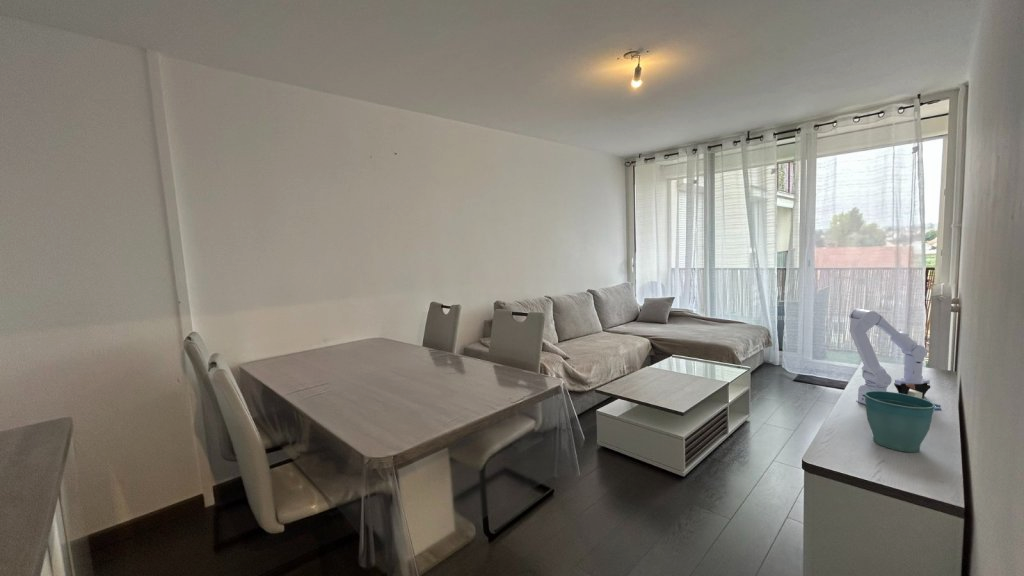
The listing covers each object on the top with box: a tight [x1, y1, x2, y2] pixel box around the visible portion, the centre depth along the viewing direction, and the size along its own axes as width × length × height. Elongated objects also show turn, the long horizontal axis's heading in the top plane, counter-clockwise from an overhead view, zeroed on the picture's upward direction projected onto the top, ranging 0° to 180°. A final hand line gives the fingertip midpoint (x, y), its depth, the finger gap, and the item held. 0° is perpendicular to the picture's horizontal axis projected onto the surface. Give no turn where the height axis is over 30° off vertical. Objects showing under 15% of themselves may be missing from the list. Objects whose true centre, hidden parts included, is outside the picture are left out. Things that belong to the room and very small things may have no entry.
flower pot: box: [864, 391, 935, 453], centre depth 143 cm, size 18×18×17 cm
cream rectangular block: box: [908, 389, 922, 398], centre depth 182 cm, size 4×6×7 cm, turn 3°
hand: (911, 399), depth 182 cm, fingers open, 7 cm apart
